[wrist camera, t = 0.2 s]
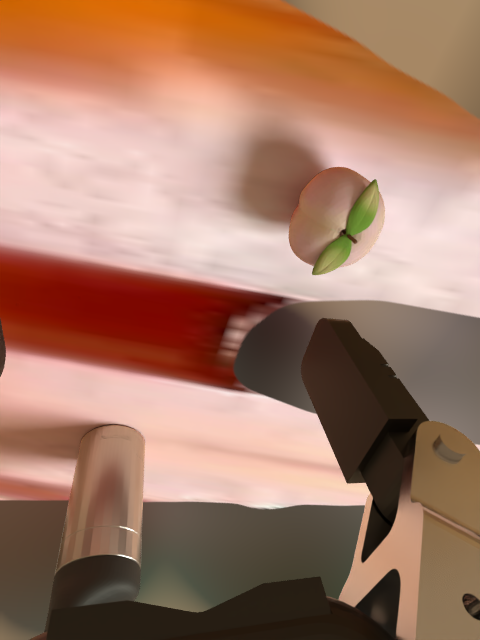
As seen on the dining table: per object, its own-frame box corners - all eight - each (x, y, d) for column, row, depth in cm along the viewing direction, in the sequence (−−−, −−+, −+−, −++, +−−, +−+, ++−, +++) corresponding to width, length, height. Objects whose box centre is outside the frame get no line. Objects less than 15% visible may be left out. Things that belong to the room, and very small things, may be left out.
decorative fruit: (332, 251, 43) (371, 298, 35) (267, 234, 40) (293, 281, 32) (373, 168, 38) (429, 202, 30) (302, 143, 35) (343, 173, 27)
